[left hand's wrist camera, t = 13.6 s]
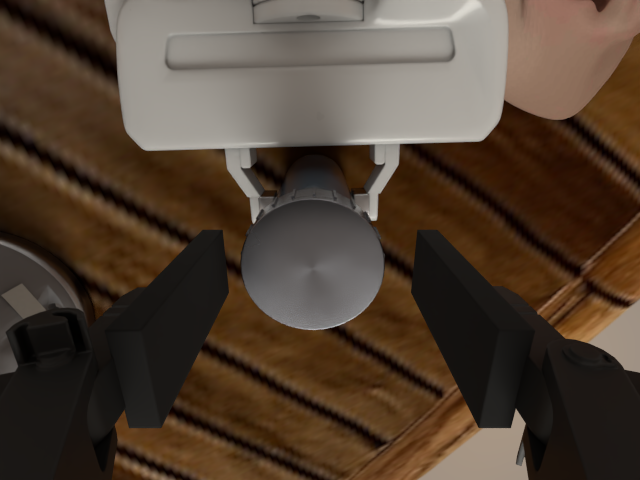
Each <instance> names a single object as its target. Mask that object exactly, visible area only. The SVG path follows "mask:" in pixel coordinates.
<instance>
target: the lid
mask: <svg viewBox="0 0 640 480" xmlns="http://www.w3.org/2000/svg"><path fill="white" fill-rule="evenodd" d="M245 236H247V238H246V240H245V242H244V245H243V249H242V251H241V274H242V279H243V282H244V285H245V288H246V290H247V292H248V294H249V295H250V297H251V298H252V300H253V301H254V303H255V304H256V305H257V306H258V307H259V308H260V309H261V310H262V311H263V312H264V313H265V314H267V315H268V316H270V317H271V318H273V319H274V320H276V321H278V322H280V323H282V324H285V325H288V326H291V327H295V328H299V329H306V330H318V329H326V328H332V327H335V326H338V325H341V324H343V323H346V322H348V321H350V320H351V319H353V318H355V317H356V316H358V315H359V314H360V313H361V312H363V311H364V310H365V309H366V308H367V307H368V306H369V304H370V303H371V302H372V301H373V299H374V298H375V296H376V294H377V293H378V291H379V288H380V286H381V284H382V280H383V276H384V269H385V258H384V257H385V254H384V252H383V248H382V245H381V242H380V240H379V239H381V237H380V235H379V233H378V231H377V229H376V227H373V225H372V223H371V219H370V217H369V215H368V213H367V212H366V211H365V212H364V211H363V210H362V209H361V208H360V207H359V206H358V205H357V204H355V202H354V200H353V199H352V198H351V199H348V198H347V197H345V196H343V195H341V194H338V193H336V190H333V192H332V191H329V190H323V189H316V187H313V189H302V190H297V191H296V189H293V192H290V193H288V194H285V195H283V196H281V197H279V198H278V197H275V199H274V201H273V202H272V203H270V204H269V205H268V206H267V207H266V208H265V209H264V210H263V209H261V210H260V212H259V214H258V216H257V217H256V221H255V223H254V225H253V224H251V226H250V228H249V230H248V231H247V233H246V235H245Z"/></svg>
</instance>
